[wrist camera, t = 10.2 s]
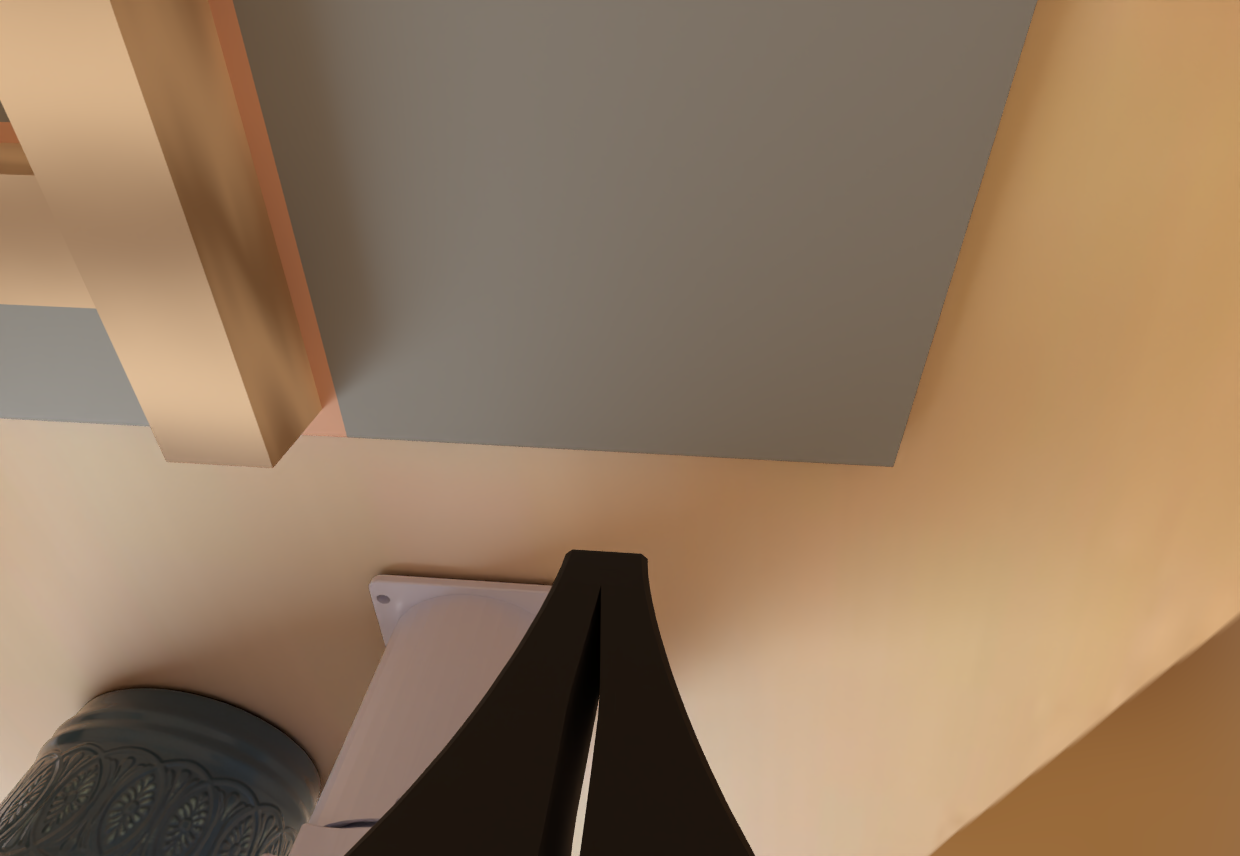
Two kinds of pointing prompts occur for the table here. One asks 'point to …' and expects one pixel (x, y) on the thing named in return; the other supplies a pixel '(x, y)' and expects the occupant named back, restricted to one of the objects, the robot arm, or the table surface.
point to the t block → (151, 219)
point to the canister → (161, 782)
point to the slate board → (597, 218)
